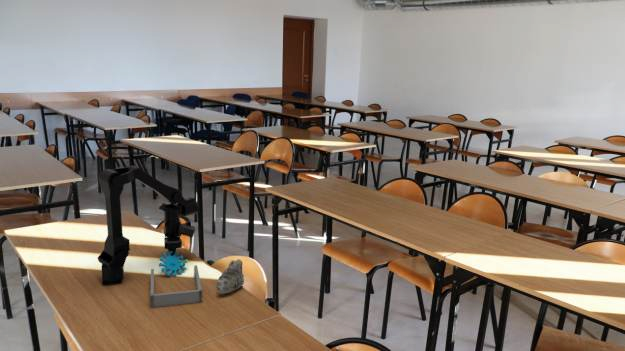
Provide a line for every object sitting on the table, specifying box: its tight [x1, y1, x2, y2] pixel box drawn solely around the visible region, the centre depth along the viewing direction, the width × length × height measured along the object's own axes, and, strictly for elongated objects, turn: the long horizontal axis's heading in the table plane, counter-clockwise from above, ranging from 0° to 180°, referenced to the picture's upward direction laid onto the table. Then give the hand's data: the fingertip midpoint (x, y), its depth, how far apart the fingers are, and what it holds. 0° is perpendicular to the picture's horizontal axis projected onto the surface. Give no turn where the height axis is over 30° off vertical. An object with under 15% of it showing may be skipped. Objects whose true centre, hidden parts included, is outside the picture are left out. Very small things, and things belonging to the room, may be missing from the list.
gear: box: [158, 251, 189, 277], centre depth 173 cm, size 11×6×10 cm
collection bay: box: [149, 264, 203, 308], centre depth 159 cm, size 16×20×4 cm
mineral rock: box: [215, 259, 245, 295], centre depth 162 cm, size 13×11×10 cm
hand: (172, 256), depth 182 cm, fingers closed
